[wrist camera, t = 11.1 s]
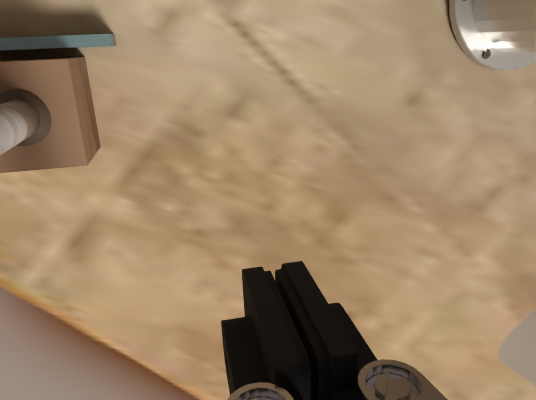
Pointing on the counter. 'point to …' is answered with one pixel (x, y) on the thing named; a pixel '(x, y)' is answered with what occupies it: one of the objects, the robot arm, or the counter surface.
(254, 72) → the counter surface
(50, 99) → the block with knob
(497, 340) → the counter surface
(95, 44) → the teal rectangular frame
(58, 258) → the counter surface
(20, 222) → the counter surface
